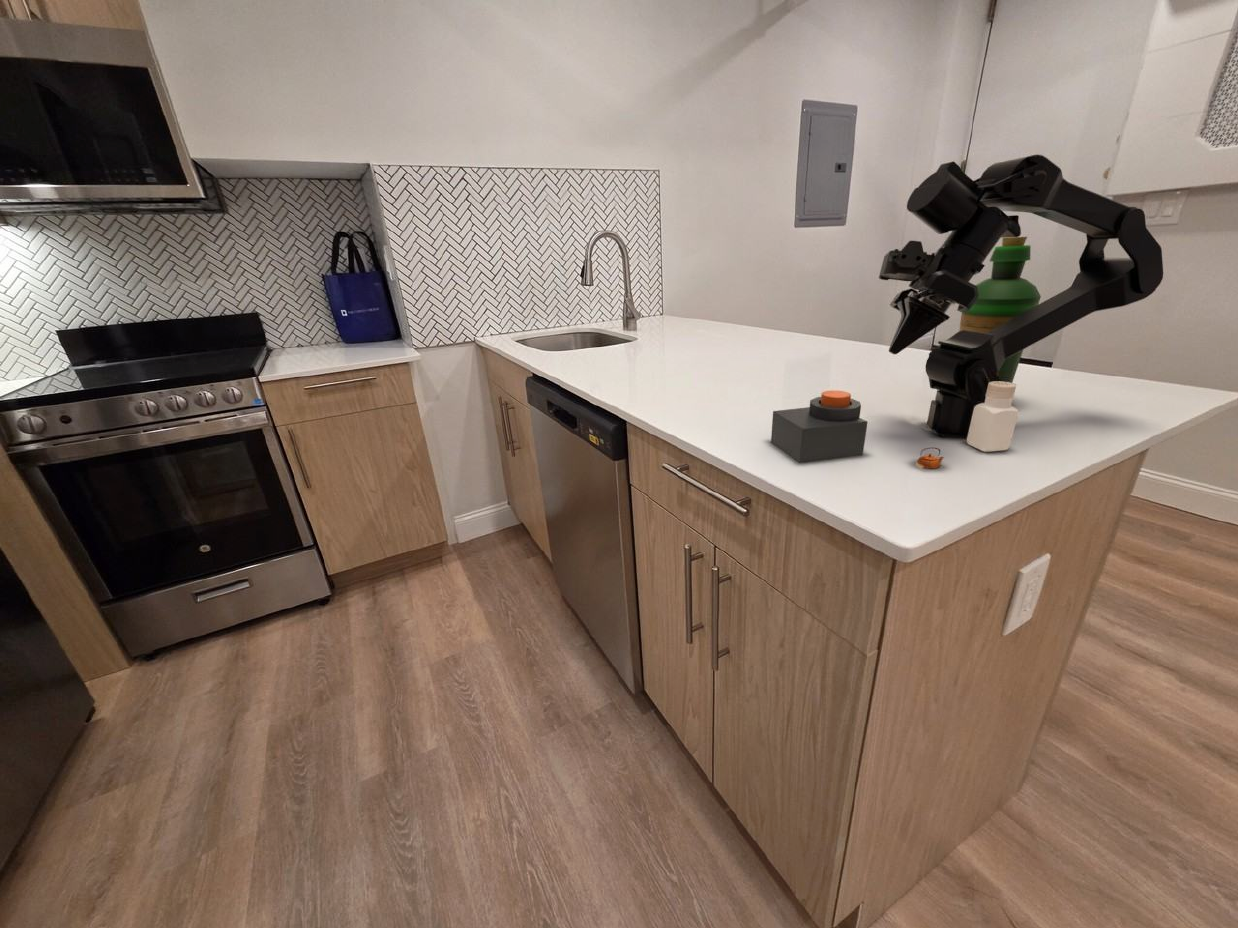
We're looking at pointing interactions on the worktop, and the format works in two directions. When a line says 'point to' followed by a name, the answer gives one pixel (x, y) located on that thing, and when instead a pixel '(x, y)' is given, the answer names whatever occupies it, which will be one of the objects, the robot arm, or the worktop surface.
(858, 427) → the push button base
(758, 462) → the worktop surface
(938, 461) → the teapot
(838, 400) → the orange push button
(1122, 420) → the worktop surface
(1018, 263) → the bottle
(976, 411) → the pepper shaker
